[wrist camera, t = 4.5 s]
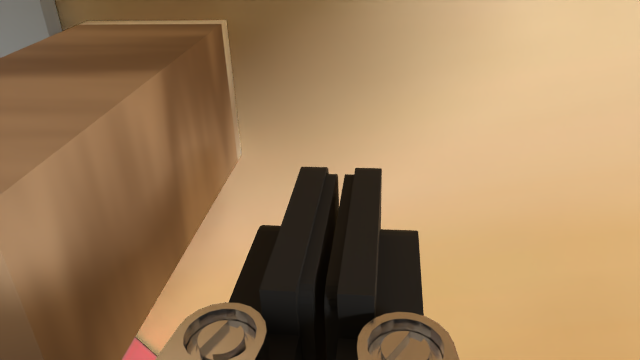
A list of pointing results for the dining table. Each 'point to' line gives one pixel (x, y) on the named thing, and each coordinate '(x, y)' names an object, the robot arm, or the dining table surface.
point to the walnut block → (106, 177)
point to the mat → (26, 23)
